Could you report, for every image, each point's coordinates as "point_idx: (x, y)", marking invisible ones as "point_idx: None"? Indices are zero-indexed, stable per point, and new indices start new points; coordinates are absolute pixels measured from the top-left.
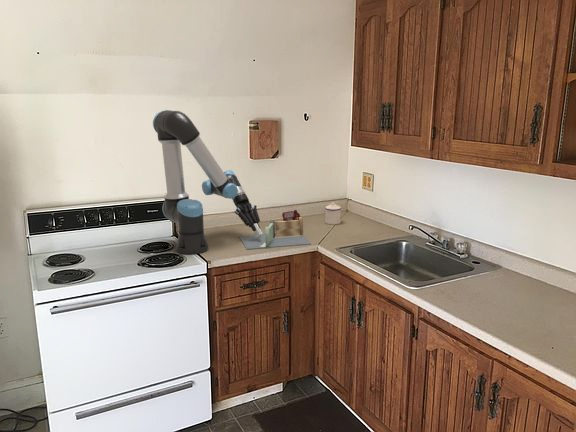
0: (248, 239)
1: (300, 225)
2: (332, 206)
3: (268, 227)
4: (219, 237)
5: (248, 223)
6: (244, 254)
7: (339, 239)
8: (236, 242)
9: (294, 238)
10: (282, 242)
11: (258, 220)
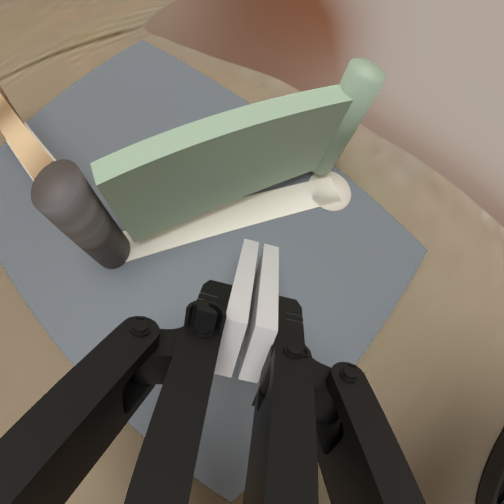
0: None
1: (1, 92)
2: None
3: (364, 59)
4: None
5: (357, 370)
6: (467, 214)
7: (50, 26)
8: None
9: (83, 125)
10: None
11: (152, 331)
